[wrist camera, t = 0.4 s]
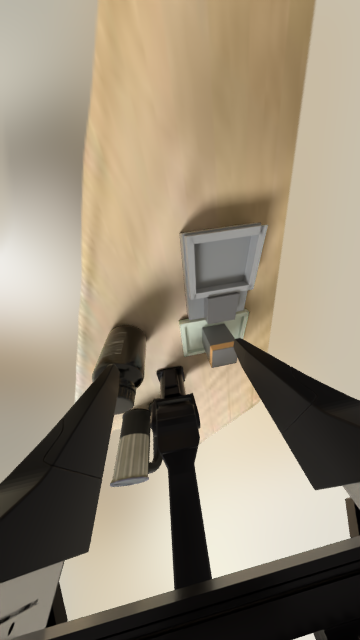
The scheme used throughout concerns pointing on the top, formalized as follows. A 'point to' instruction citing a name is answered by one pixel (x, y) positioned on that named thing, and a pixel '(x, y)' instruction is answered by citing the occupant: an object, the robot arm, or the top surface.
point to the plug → (218, 345)
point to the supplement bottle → (124, 363)
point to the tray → (193, 328)
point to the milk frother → (135, 450)
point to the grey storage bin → (220, 269)
